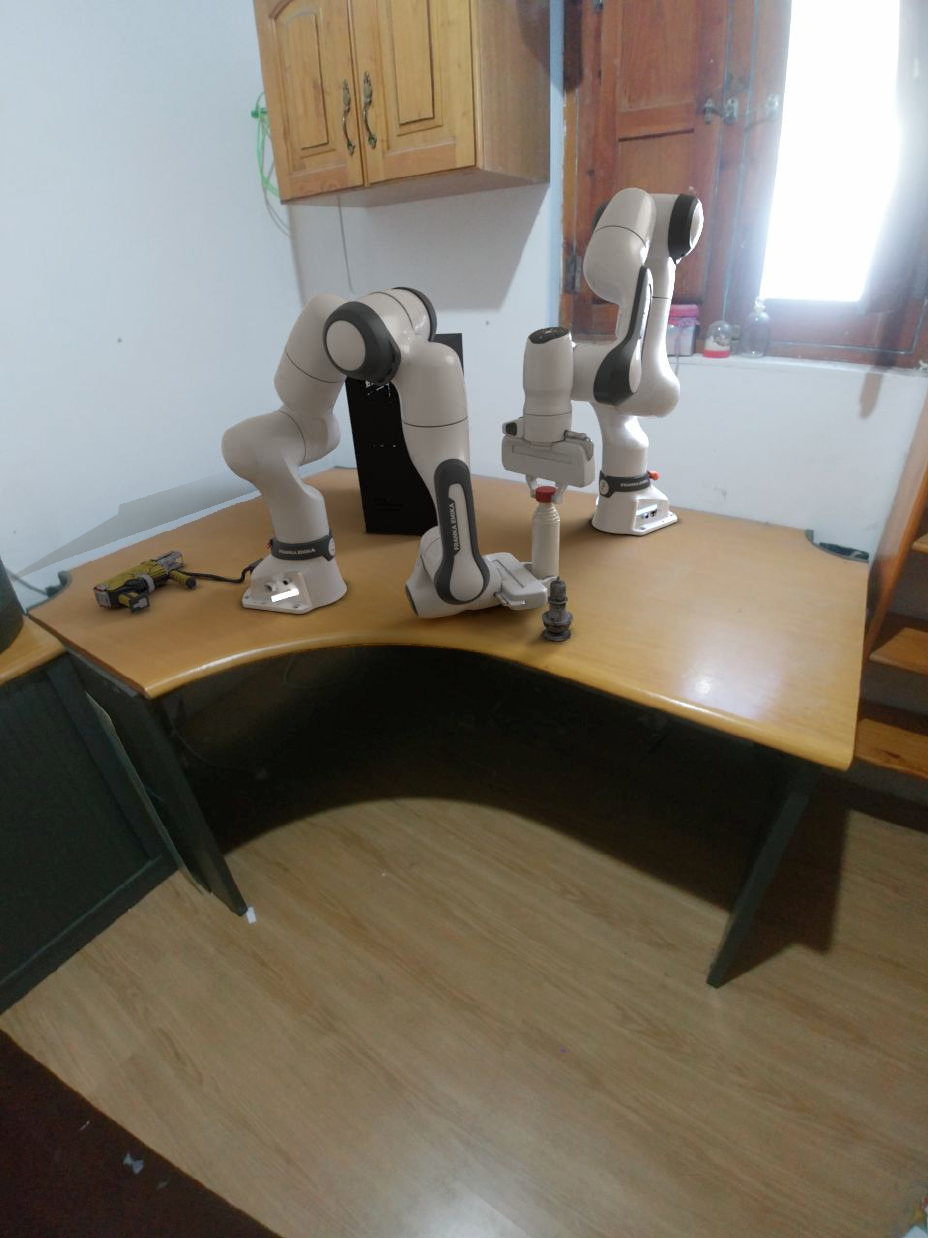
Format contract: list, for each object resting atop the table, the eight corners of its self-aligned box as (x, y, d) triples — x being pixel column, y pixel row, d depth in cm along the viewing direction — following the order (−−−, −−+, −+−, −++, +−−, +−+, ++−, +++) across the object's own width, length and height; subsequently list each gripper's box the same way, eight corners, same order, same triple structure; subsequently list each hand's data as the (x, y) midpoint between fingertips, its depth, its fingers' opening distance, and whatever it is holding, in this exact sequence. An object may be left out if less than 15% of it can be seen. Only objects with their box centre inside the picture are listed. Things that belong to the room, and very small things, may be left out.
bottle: (541, 604, 124) (542, 497, 112) (526, 594, 128) (526, 490, 117) (563, 597, 126) (566, 492, 115) (547, 587, 130) (549, 484, 119)
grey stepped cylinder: (571, 642, 110) (574, 584, 104) (539, 640, 111) (540, 582, 105) (573, 626, 115) (576, 569, 109) (542, 624, 116) (543, 568, 110)
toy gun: (220, 558, 145) (169, 547, 149) (142, 600, 125) (86, 587, 129) (223, 576, 147) (173, 565, 151) (147, 620, 127) (92, 606, 131)
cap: (548, 504, 114) (548, 493, 113) (531, 500, 116) (531, 490, 115) (560, 498, 116) (561, 488, 115) (544, 494, 119) (544, 484, 118)
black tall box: (438, 535, 159) (423, 349, 136) (366, 532, 163) (340, 351, 140) (469, 489, 190) (461, 332, 168) (408, 488, 195) (393, 335, 172)
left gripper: (505, 593, 111) (572, 579, 114) (469, 552, 128) (528, 541, 131) (505, 623, 114) (571, 608, 118) (470, 579, 131) (528, 567, 135)
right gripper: (605, 431, 105) (600, 507, 112) (518, 417, 118) (518, 486, 125) (582, 438, 101) (579, 516, 108) (495, 423, 114) (497, 494, 121)
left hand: (548, 572), depth 125 cm, fingers closed on bottle, 5 cm apart
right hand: (545, 500), depth 117 cm, fingers closed on cap, 4 cm apart
